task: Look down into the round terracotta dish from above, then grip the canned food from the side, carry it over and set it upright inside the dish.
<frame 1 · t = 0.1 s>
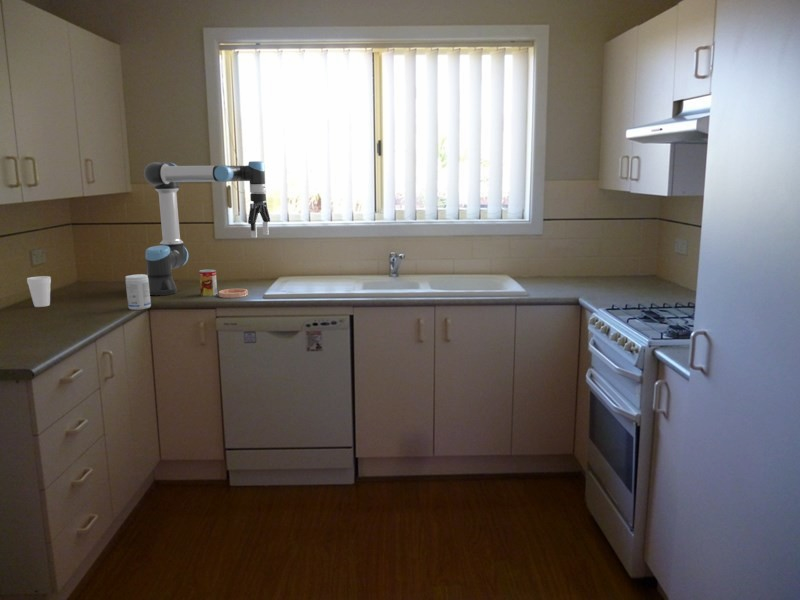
hand: (260, 236, 328), 28 cm above the countertop, tool pointing down, fingers open, 13 cm apart
foam cup: (42, 305, 302), on the countertop
terracotta dish: (233, 295, 322), on the countertop
canned food: (209, 294, 325), on the countertop
supplement tub: (139, 308, 294), on the countertop
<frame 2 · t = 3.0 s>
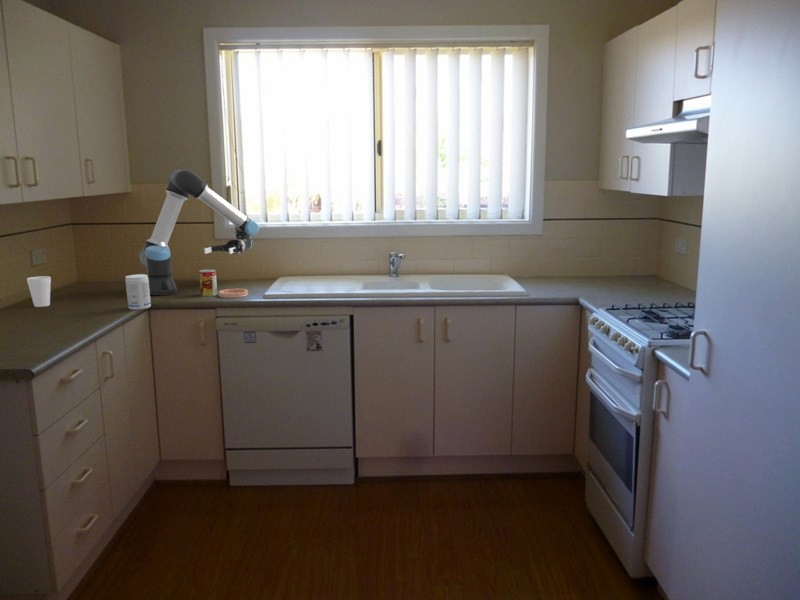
hand: (217, 251, 332), 20 cm above the countertop, tool horizontal, fingers open, 13 cm apart
nothing on the countertop moved.
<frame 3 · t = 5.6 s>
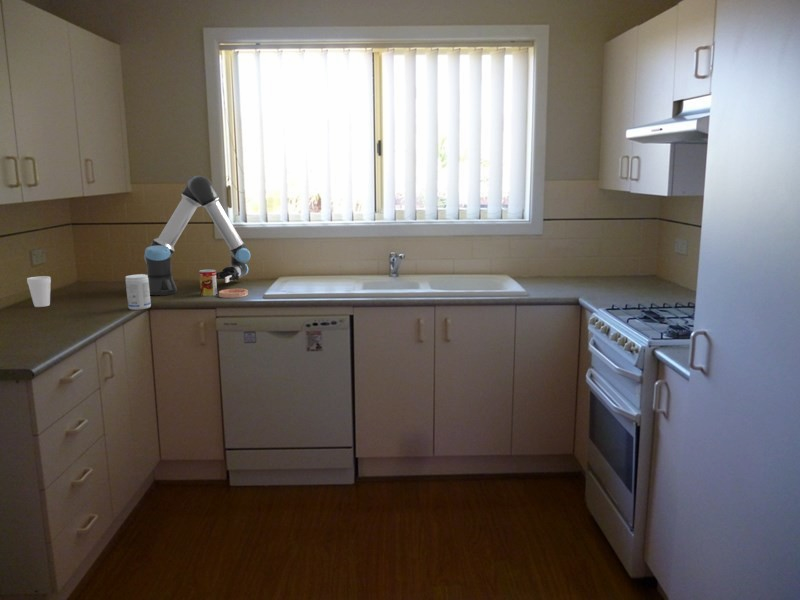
hand: (212, 279, 327), 7 cm above the countertop, tool horizontal, fingers open, 13 cm apart
nothing on the countertop moved.
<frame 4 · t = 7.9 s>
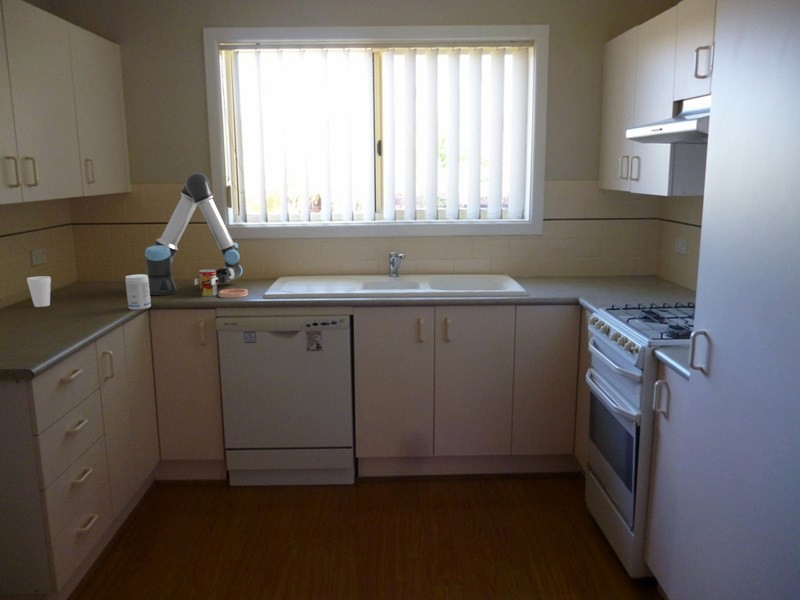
hand: (203, 282, 319), 7 cm above the countertop, tool horizontal, fingers closed on canned food, 8 cm apart
canned food: (209, 294, 325), on the countertop, touching gripper
everything else where it was.
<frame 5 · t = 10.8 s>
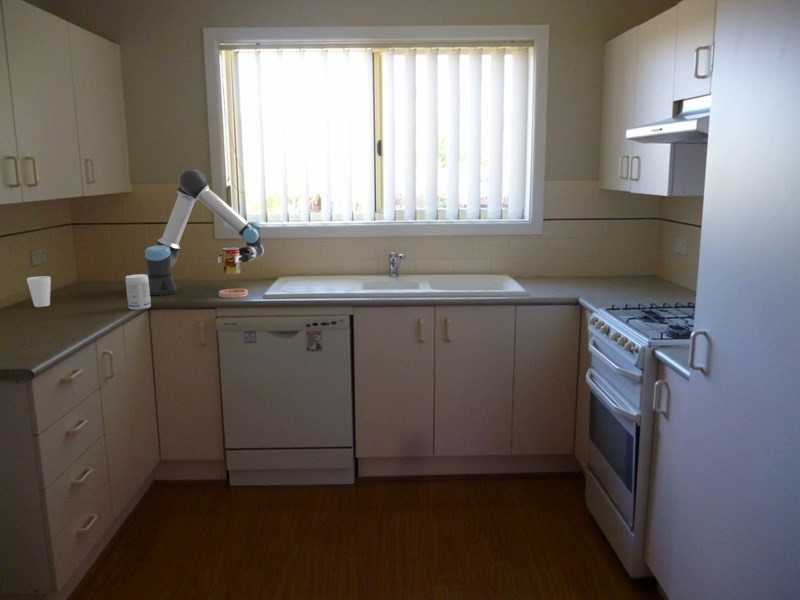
hand: (227, 259, 314), 18 cm above the countertop, tool horizontal, fingers closed on canned food, 8 cm apart
canned food: (232, 273, 320), point 11 cm above the countertop, touching gripper
everything else where it was.
when the fingers open (9 cm above the countertop, at t = 13.7 s): canned food drops 1 cm, resting on terracotta dish.
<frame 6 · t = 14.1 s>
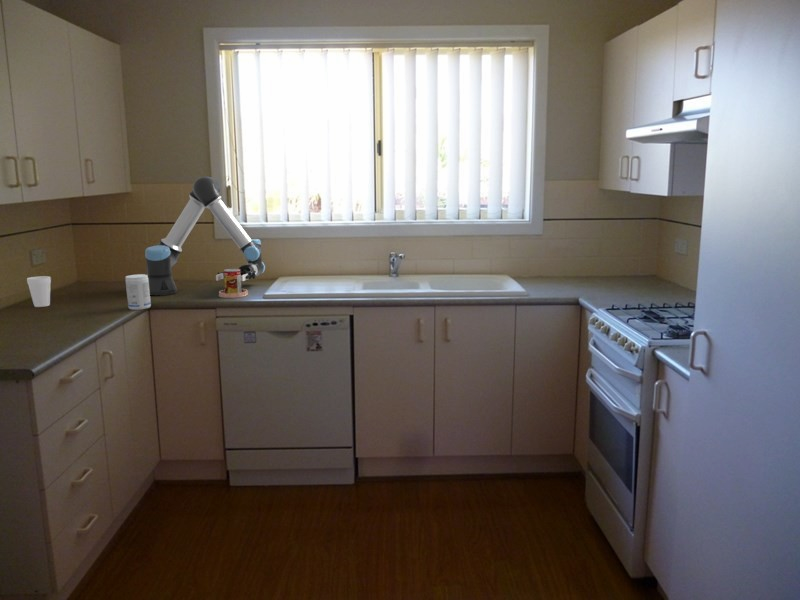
hand: (229, 278, 317), 9 cm above the countertop, tool horizontal, fingers open, 12 cm apart
canned food: (233, 294, 322), resting on terracotta dish
everything else where it was.
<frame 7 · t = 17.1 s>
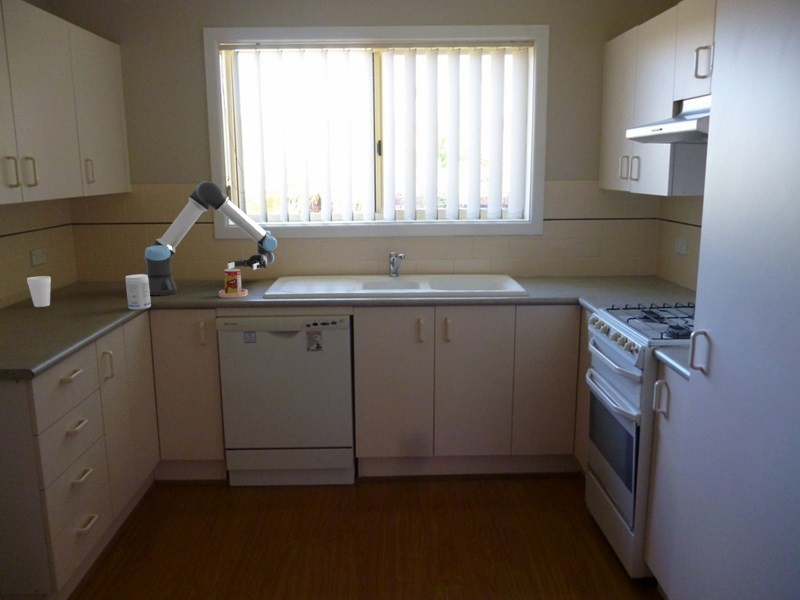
hand: (240, 266, 330), 13 cm above the countertop, tool horizontal, fingers open, 13 cm apart
nothing on the countertop moved.
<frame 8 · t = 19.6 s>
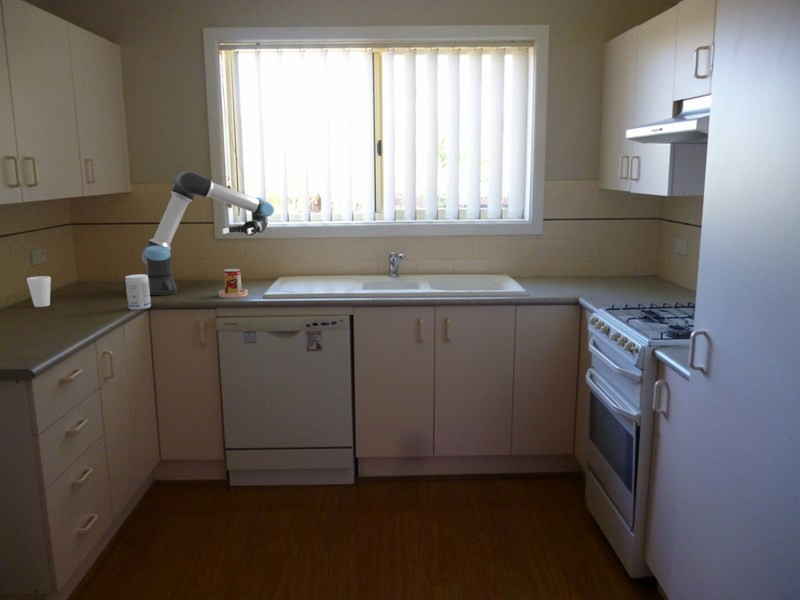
hand: (235, 231, 331), 30 cm above the countertop, tool horizontal, fingers open, 13 cm apart
nothing on the countertop moved.
at the end: canned food 0.1 cm off-centre on the terracotta dish, point 0.3 cm above the terracotta dish's base; canned food tilted 0°; the gripper is holding nothing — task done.
